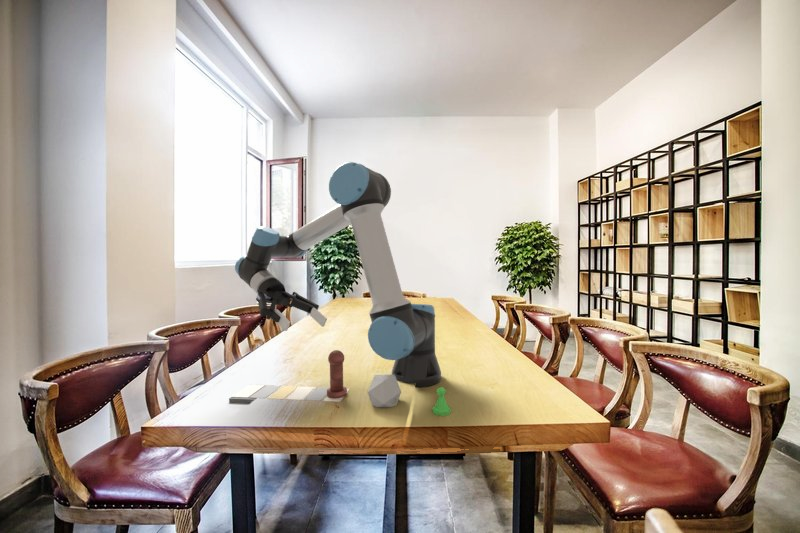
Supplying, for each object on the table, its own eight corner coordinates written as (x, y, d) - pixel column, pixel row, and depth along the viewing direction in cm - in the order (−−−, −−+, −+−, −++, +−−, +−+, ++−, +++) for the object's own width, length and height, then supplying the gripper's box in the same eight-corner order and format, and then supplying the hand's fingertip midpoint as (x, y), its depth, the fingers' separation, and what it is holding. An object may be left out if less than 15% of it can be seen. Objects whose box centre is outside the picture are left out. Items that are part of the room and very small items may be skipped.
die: (389, 421, 79) (409, 383, 82) (357, 400, 80) (379, 364, 83) (389, 418, 87) (408, 383, 90) (361, 399, 88) (380, 366, 91)
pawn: (349, 391, 93) (348, 348, 92) (343, 398, 87) (342, 353, 87) (330, 390, 93) (330, 347, 93) (323, 398, 88) (323, 352, 88)
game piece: (441, 417, 79) (440, 391, 79) (428, 410, 83) (428, 386, 82) (454, 412, 82) (454, 387, 82) (441, 406, 85) (441, 382, 85)
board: (351, 391, 95) (351, 387, 95) (340, 407, 85) (340, 402, 85) (250, 387, 99) (250, 383, 99) (229, 402, 89) (229, 397, 89)
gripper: (295, 297, 119) (333, 331, 109) (226, 298, 99) (264, 340, 88) (303, 278, 118) (342, 311, 107) (234, 275, 97) (274, 316, 86)
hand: (307, 324), depth 97 cm, fingers open, 13 cm apart
